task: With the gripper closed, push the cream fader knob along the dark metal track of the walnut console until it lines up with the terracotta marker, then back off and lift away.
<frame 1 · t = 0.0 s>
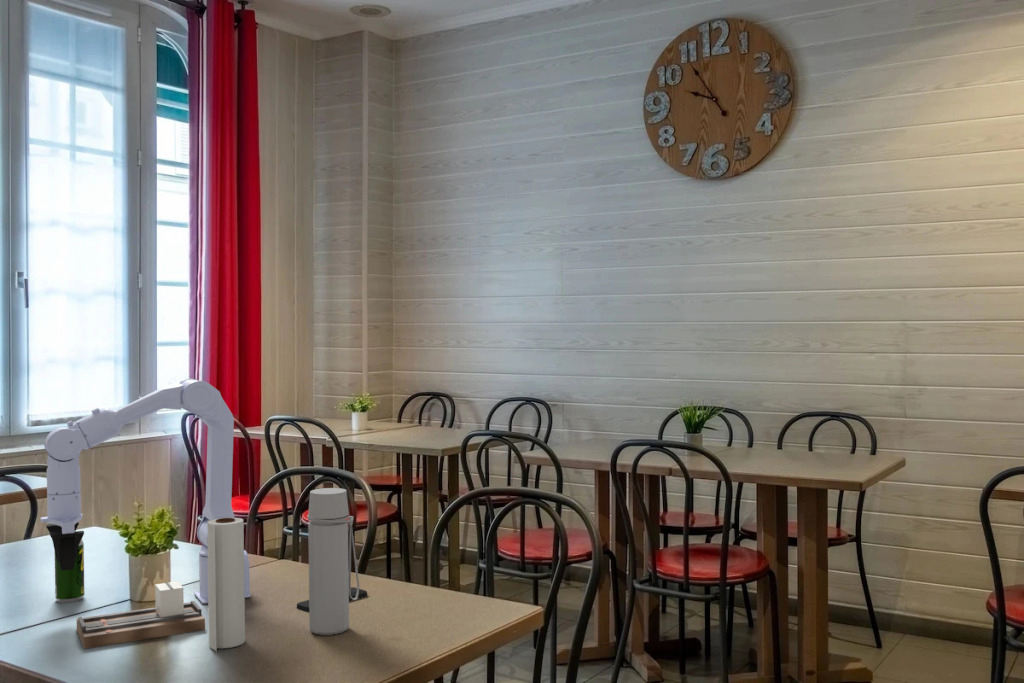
hand: (65, 565, 183), 10 cm above the table, tool pointing down, fingers open, 7 cm apart
paper towel roll: (224, 645, 168), on the table
console: (140, 629, 176), on the table
remote control: (332, 605, 193), on the table
water bottle: (334, 630, 176), on the table
beer can: (70, 600, 196), on the table
fader knob: (169, 598, 179), point 5 cm above the table, slide at 0.0 cm
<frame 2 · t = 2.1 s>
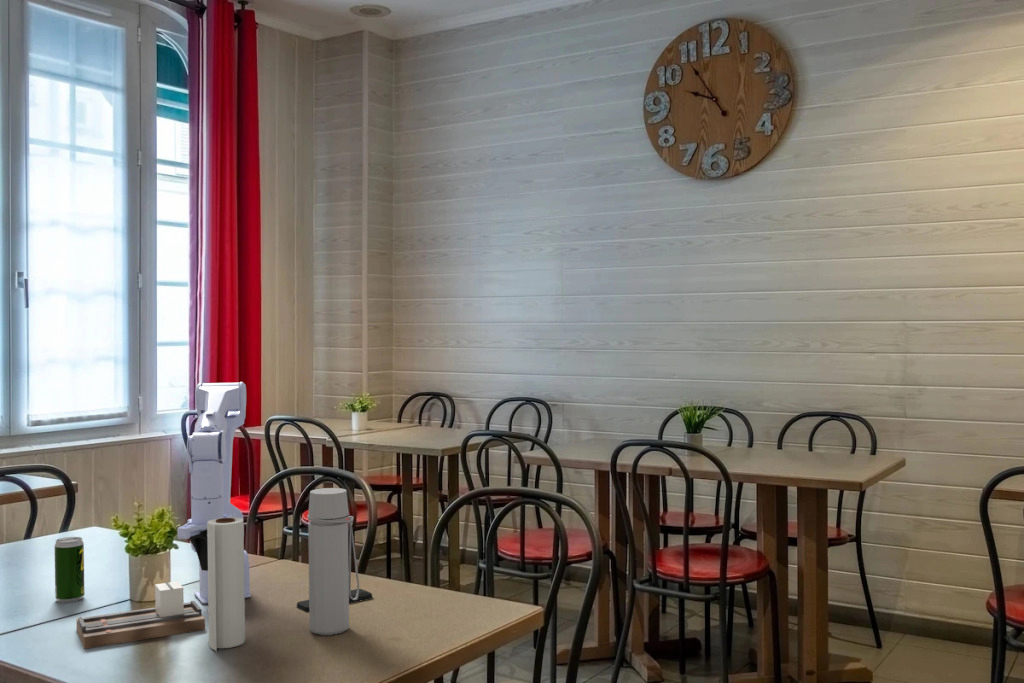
hand: (208, 569, 182), 9 cm above the table, tool pointing down, fingers closed
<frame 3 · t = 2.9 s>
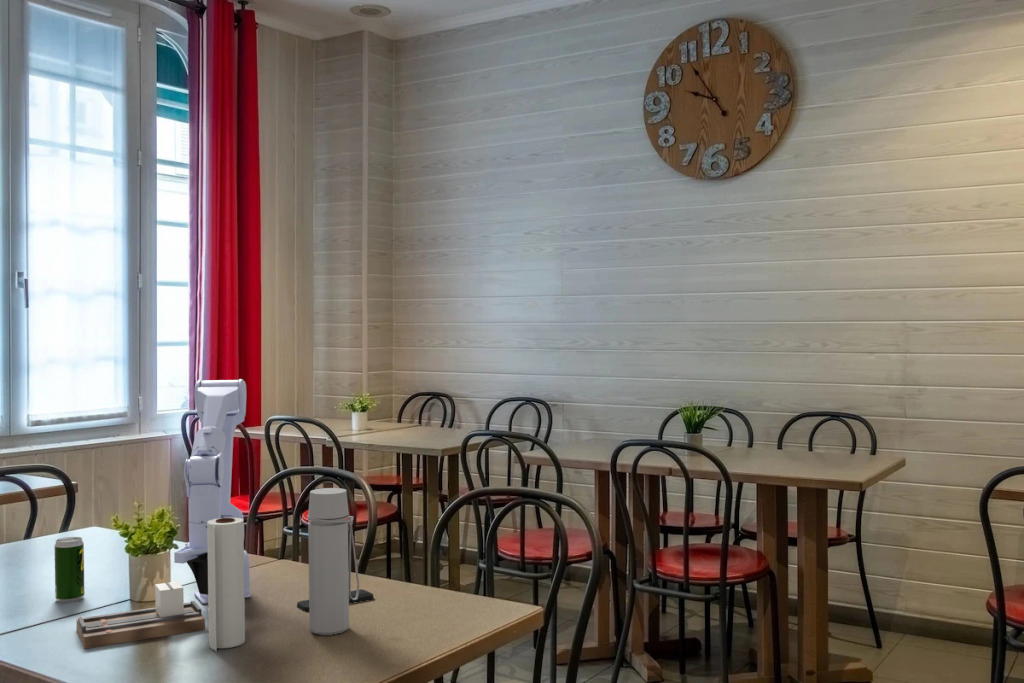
hand: (206, 593, 182), 5 cm above the table, tool pointing down, fingers closed
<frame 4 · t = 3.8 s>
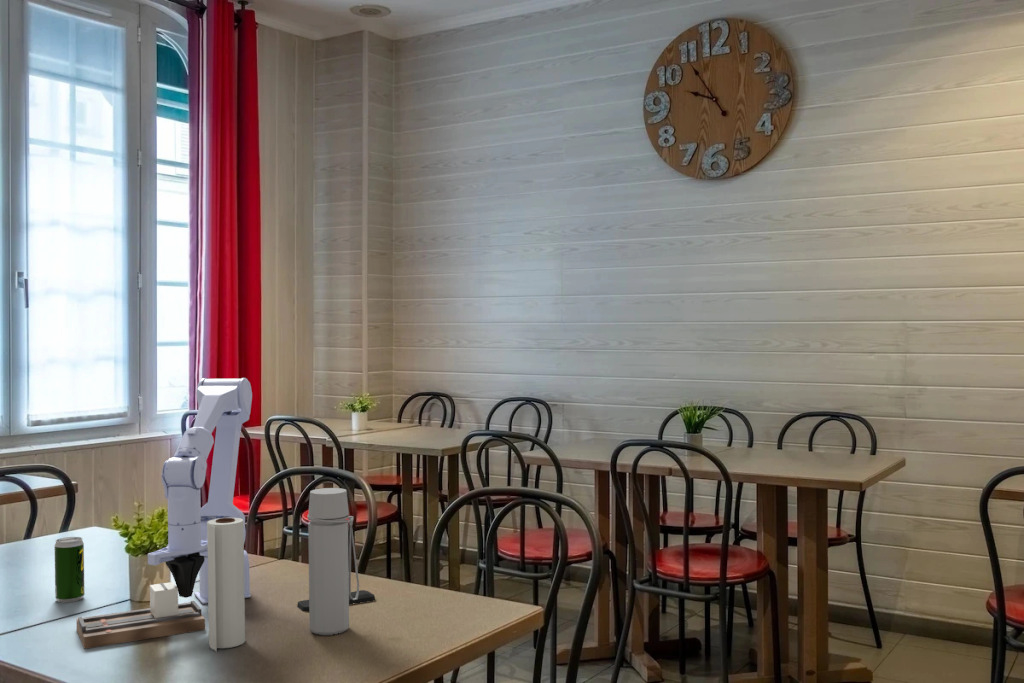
hand: (185, 596, 180), 5 cm above the table, tool pointing down, fingers closed
fader knob: (163, 599, 178), point 5 cm above the table, slide at 1.0 cm, touching gripper
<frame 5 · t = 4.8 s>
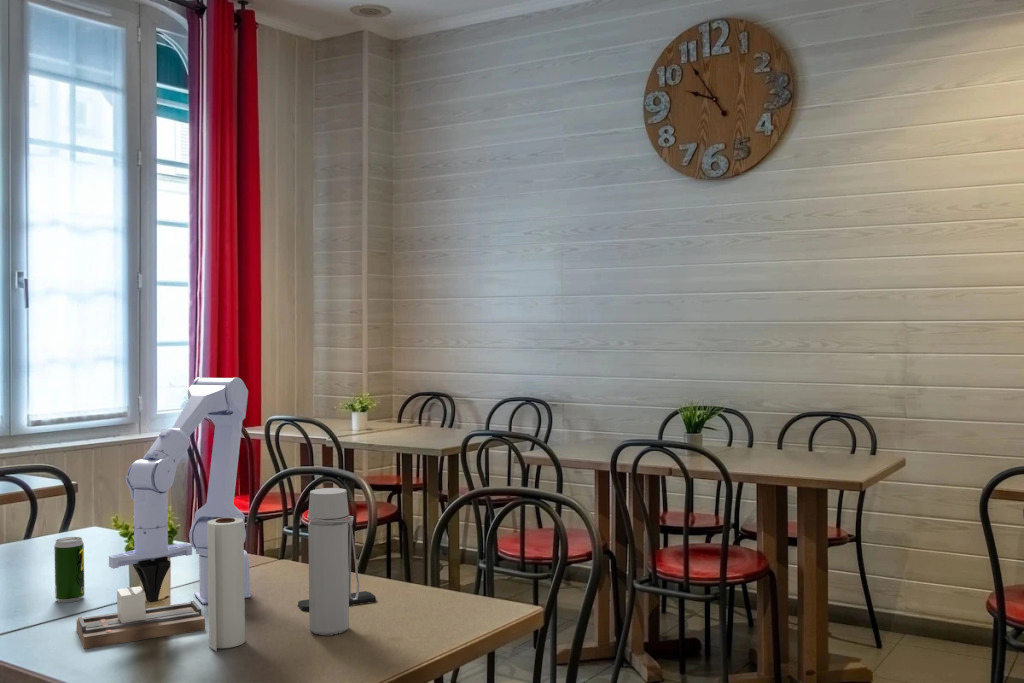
hand: (152, 600, 177), 5 cm above the table, tool pointing down, fingers closed
fader knob: (131, 604, 176), point 5 cm above the table, slide at 6.6 cm, touching gripper
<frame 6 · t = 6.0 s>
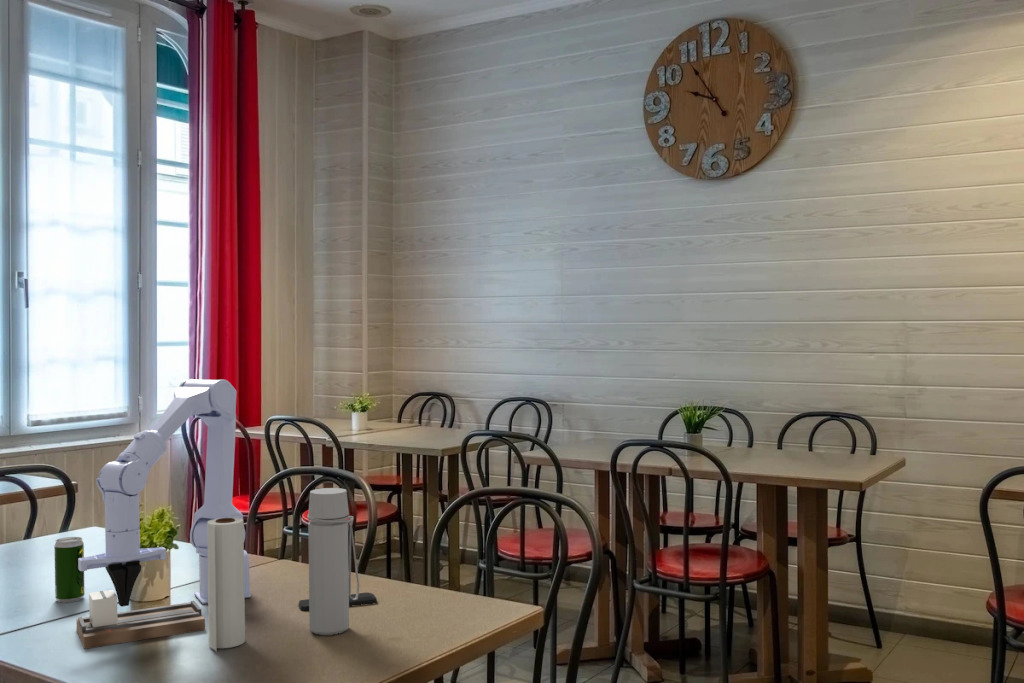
hand: (123, 604, 175), 5 cm above the table, tool pointing down, fingers closed
fader knob: (103, 608, 173), point 5 cm above the table, slide at 11.2 cm, touching gripper
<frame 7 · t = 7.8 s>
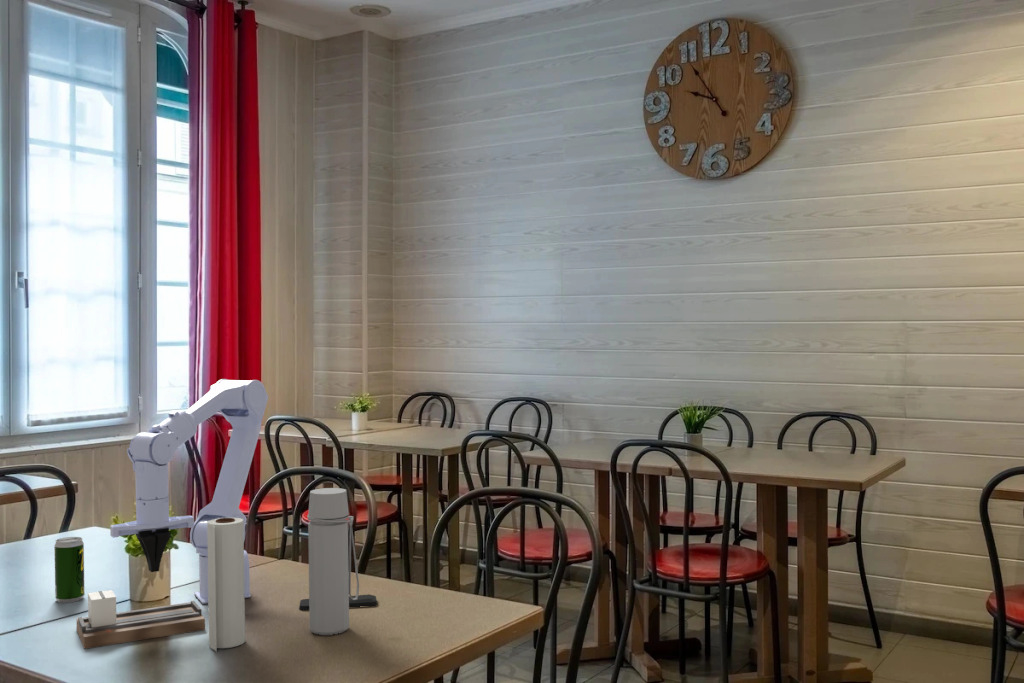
hand: (153, 570, 182), 9 cm above the table, tool pointing down, fingers closed
fader knob: (102, 608, 173), point 5 cm above the table, slide at 11.4 cm
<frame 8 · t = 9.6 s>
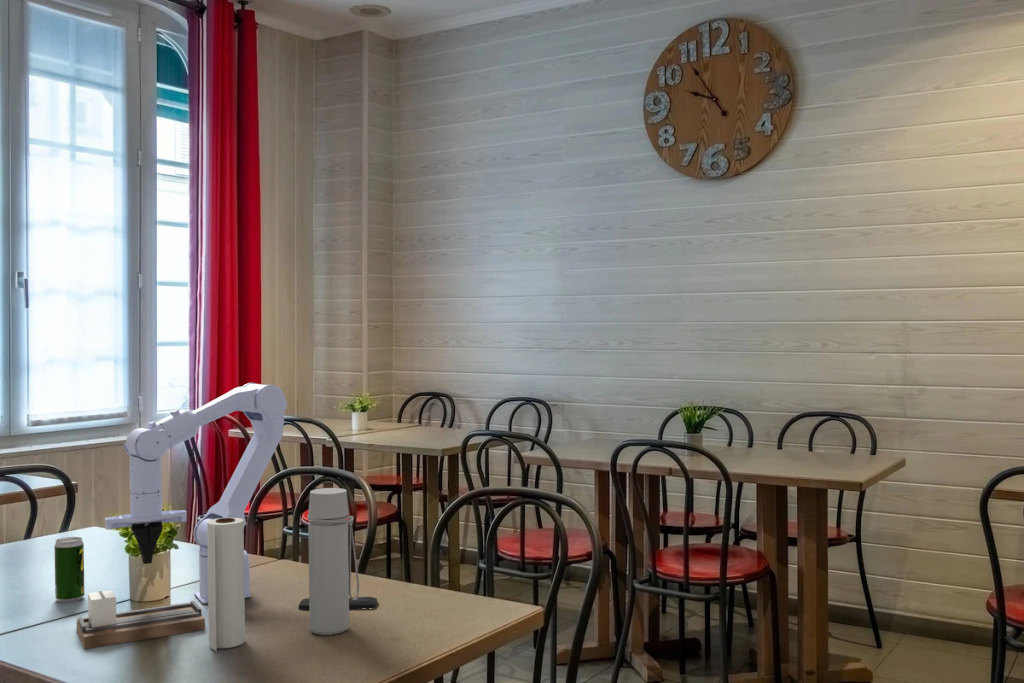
hand: (147, 562, 187), 9 cm above the table, tool pointing down, fingers closed
at the end: fader knob slide at 11.4 cm; fader knob 0.6 cm from the target spot, resting on console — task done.
